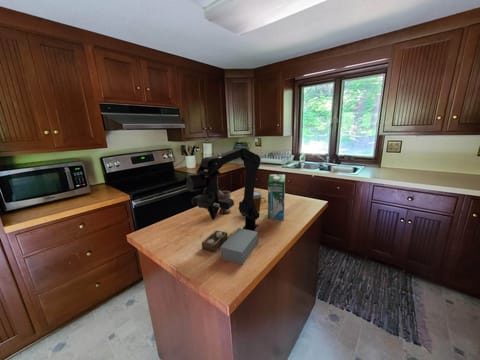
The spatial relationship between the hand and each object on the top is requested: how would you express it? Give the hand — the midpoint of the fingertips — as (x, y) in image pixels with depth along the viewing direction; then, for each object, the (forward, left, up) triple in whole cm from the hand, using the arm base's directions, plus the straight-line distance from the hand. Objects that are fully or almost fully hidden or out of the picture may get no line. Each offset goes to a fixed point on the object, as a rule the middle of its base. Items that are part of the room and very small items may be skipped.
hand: (213, 219), depth 93 cm
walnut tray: (0, 0, -12) cm, 13 cm away
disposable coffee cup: (-43, +3, -13) cm, 45 cm away
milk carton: (-40, +18, -13) cm, 46 cm away
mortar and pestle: (-33, -15, -13) cm, 39 cm away
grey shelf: (0, +13, -12) cm, 18 cm away
